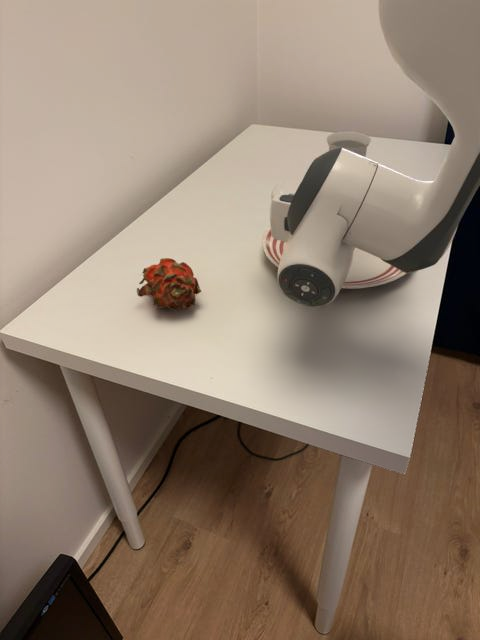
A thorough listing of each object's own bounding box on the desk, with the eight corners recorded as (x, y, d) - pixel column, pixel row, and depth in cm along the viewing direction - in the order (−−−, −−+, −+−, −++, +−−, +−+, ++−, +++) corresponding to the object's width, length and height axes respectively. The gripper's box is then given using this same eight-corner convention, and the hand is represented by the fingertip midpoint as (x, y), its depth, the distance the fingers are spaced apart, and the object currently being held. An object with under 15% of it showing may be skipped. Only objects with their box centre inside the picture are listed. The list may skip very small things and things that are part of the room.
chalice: (361, 250, 84) (375, 146, 72) (321, 251, 84) (329, 148, 73) (354, 229, 89) (366, 130, 78) (317, 231, 90) (323, 132, 78)
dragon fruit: (194, 330, 77) (152, 307, 85) (222, 284, 77) (177, 265, 85) (159, 308, 70) (117, 285, 78) (189, 258, 71) (144, 241, 79)
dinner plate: (423, 232, 94) (427, 217, 92) (403, 316, 75) (407, 298, 73) (288, 212, 103) (289, 198, 101) (239, 282, 84) (239, 266, 81)
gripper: (409, 213, 64) (415, 172, 74) (260, 197, 69) (284, 161, 79) (401, 254, 68) (407, 210, 78) (261, 236, 73) (283, 197, 83)
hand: (344, 185), depth 79 cm, fingers open, 8 cm apart
